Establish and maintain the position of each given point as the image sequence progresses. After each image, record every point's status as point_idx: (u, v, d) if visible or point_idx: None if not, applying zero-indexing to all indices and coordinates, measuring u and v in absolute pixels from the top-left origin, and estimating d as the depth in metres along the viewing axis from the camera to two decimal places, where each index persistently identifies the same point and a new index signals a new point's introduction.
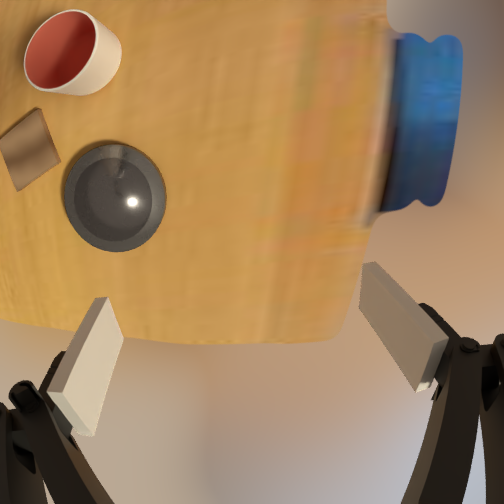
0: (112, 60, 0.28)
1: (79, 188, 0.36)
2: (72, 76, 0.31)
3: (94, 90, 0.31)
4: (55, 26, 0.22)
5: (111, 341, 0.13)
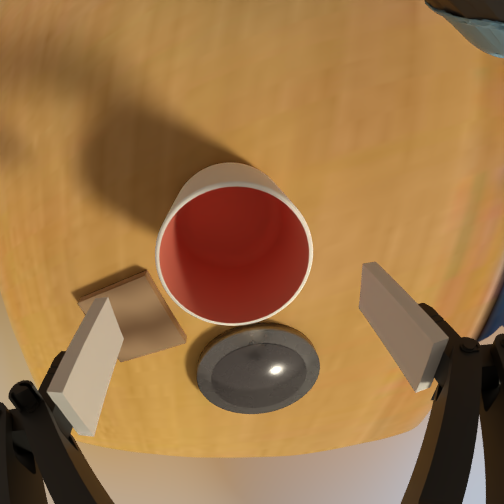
0: None
1: (219, 368, 0.34)
2: (200, 233, 0.28)
3: None
4: None
5: (111, 341, 0.13)
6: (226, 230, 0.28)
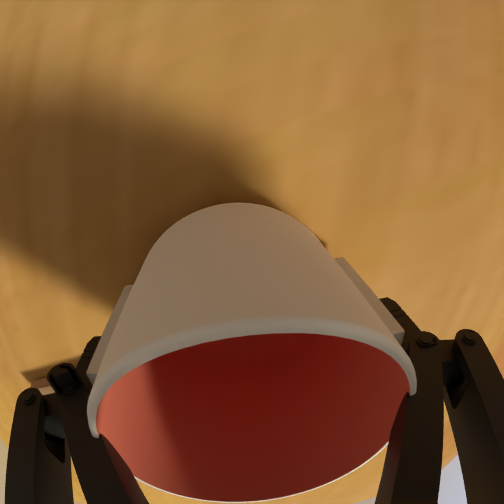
0: None
1: None
2: None
3: None
4: None
5: None
6: None
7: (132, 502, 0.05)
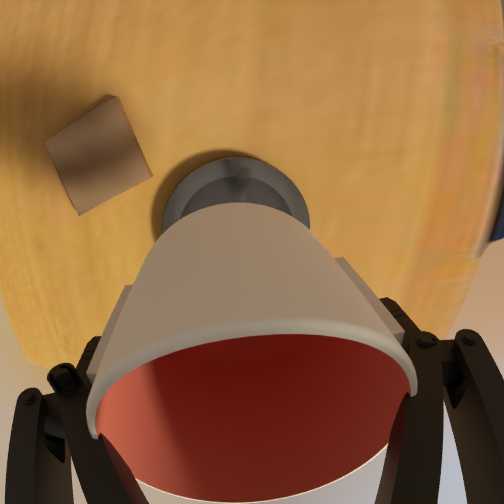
0: None
1: None
2: None
3: None
4: None
5: None
6: None
7: (132, 502, 0.05)
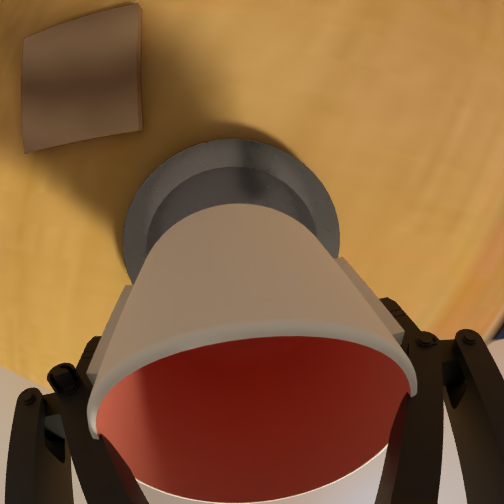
0: None
1: (172, 205, 0.19)
2: None
3: None
4: None
5: None
6: None
7: (132, 502, 0.05)
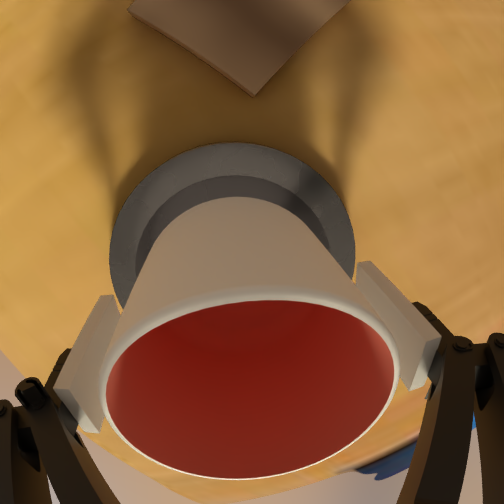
0: None
1: (222, 188, 0.16)
2: None
3: None
4: None
5: None
6: None
7: None
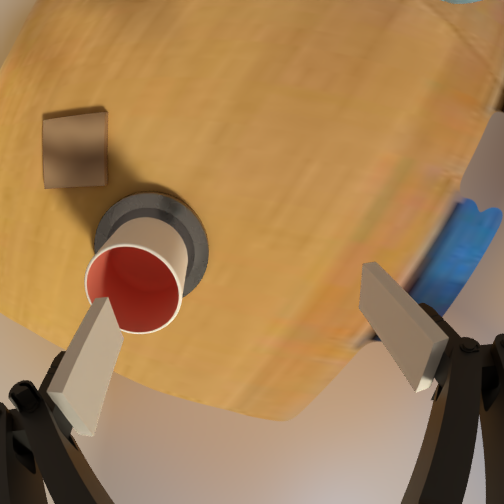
0: (182, 252, 0.33)
1: (119, 225, 0.35)
2: (142, 275, 0.38)
3: None
4: (96, 263, 0.29)
5: (111, 341, 0.13)
6: (154, 263, 0.37)
7: None
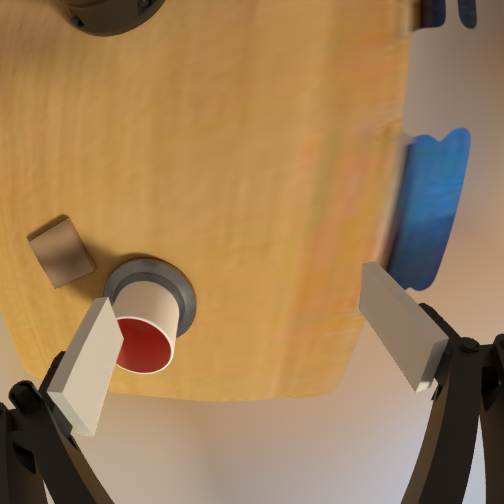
0: (164, 301, 0.40)
1: None
2: None
3: (178, 318, 0.44)
4: None
5: (111, 341, 0.13)
6: None
7: None
